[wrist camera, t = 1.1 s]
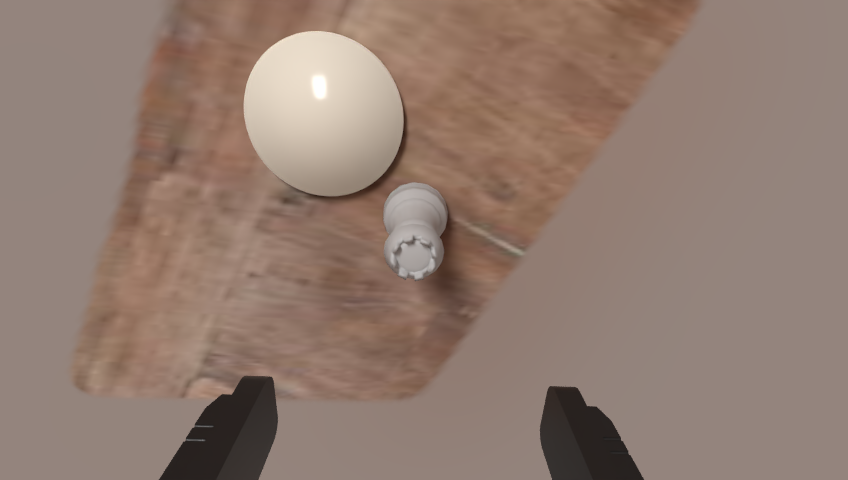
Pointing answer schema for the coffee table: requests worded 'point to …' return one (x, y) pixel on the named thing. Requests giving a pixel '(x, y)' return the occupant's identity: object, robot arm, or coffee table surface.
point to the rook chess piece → (414, 230)
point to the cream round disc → (323, 113)
